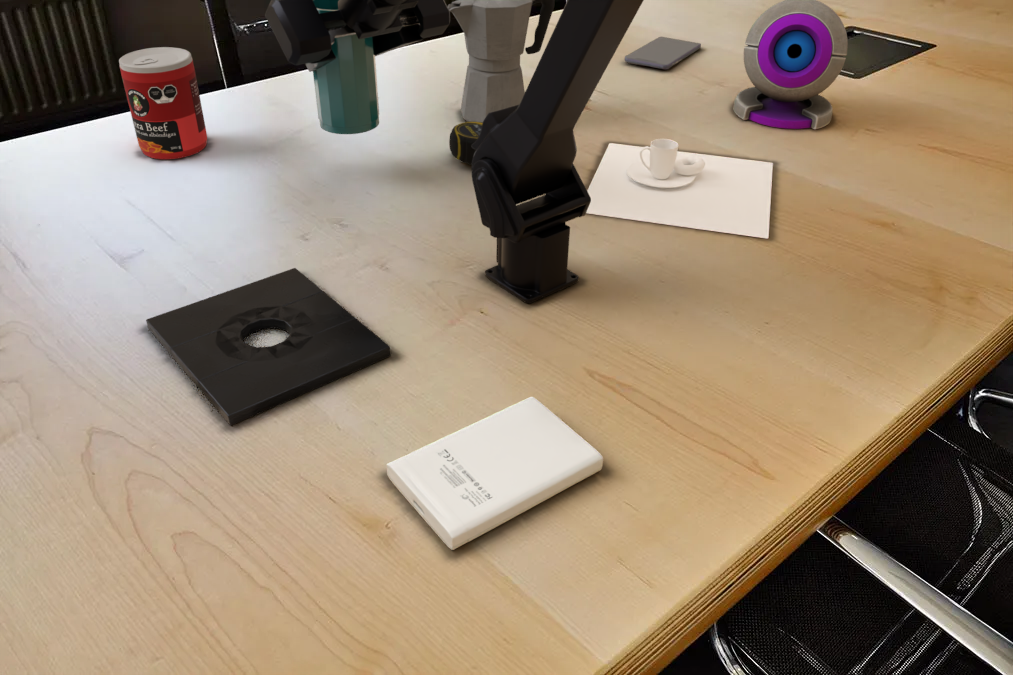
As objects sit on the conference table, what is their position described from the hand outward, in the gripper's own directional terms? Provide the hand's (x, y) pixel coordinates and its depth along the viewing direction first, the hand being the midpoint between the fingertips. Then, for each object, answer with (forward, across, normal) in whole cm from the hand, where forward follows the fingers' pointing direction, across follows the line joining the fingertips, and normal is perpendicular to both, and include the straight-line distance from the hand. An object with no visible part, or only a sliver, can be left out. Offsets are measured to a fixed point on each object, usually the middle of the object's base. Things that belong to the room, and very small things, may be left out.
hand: (337, 61), depth 93 cm
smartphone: (+13, -62, +5) cm, 64 cm away
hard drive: (-26, +19, +44) cm, 55 cm away
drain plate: (-9, +24, +27) cm, 37 cm away
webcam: (-6, -56, +24) cm, 61 cm away
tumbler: (+4, 0, +6) cm, 7 cm away
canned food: (+22, +13, -4) cm, 26 cm away
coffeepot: (+11, -26, +7) cm, 29 cm away
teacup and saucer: (-10, -27, +28) cm, 41 cm away
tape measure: (+4, -14, +14) cm, 20 cm away
